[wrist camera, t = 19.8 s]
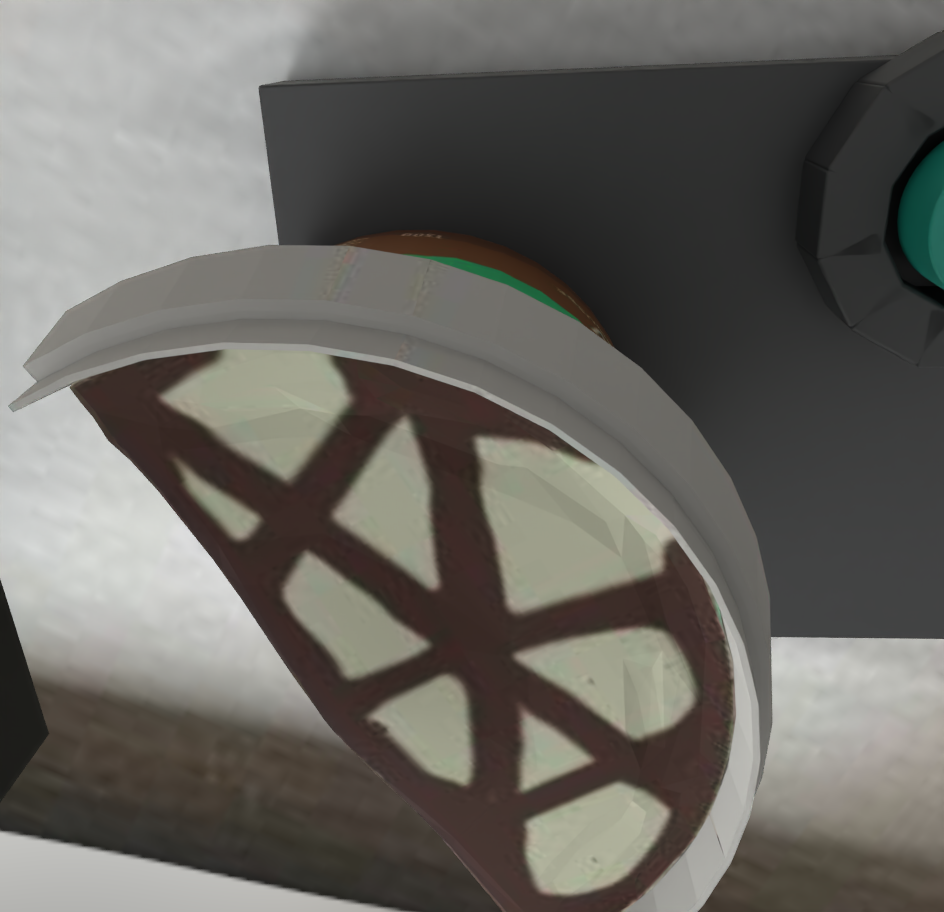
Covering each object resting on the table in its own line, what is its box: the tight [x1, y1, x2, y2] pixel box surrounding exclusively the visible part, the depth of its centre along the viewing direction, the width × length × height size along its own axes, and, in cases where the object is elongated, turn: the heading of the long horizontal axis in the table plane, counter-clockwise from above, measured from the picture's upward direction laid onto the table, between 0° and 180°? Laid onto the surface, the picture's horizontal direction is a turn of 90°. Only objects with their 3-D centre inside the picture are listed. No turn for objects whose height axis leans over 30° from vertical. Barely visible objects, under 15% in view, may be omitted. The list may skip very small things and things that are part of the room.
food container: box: [8, 230, 772, 912], centre depth 15 cm, size 12×6×10 cm, turn 32°
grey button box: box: [259, 31, 944, 639], centre depth 20 cm, size 16×14×4 cm
